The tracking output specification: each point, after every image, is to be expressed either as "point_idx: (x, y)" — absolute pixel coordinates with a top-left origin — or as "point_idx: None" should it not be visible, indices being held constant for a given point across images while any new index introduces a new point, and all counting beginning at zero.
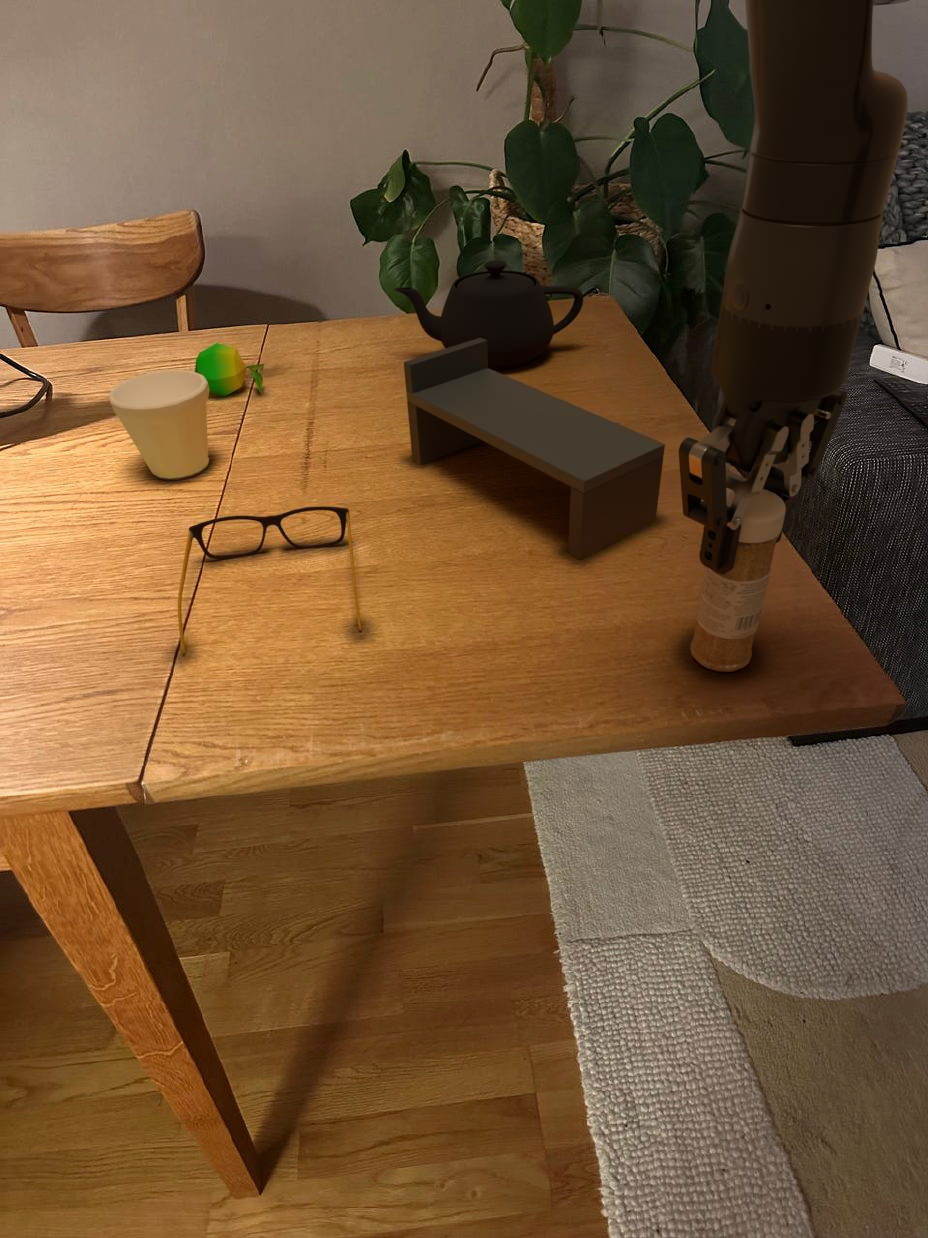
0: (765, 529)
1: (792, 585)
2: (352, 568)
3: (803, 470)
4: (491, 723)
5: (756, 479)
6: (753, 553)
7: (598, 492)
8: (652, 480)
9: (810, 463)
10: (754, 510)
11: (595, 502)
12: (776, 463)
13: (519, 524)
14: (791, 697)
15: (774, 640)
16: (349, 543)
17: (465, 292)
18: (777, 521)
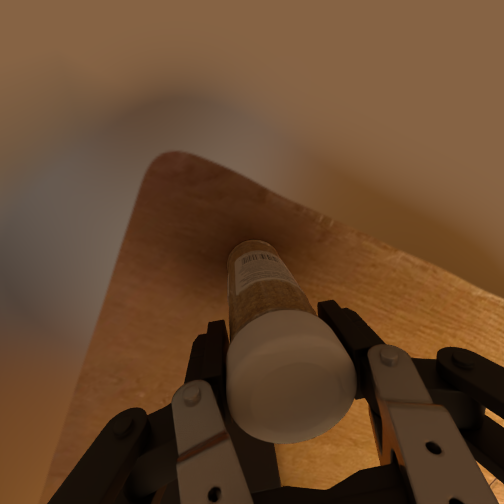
0: (309, 326)
1: (121, 306)
2: None
3: (148, 437)
4: (447, 287)
5: (466, 449)
6: (303, 305)
7: (257, 483)
8: (173, 480)
9: (130, 453)
10: (315, 372)
11: (259, 470)
12: (307, 489)
13: (277, 463)
14: (239, 190)
15: (196, 255)
16: None
17: None
18: (287, 331)
